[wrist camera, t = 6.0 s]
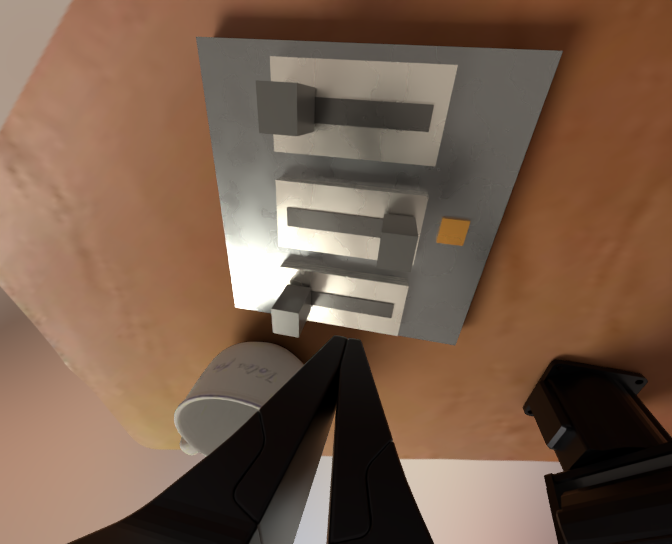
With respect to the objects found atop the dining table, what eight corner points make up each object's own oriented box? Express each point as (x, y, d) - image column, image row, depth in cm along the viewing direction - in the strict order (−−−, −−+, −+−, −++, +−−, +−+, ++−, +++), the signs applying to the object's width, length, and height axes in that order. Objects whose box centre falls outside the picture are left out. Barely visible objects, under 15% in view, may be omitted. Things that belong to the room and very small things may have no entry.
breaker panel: (548, 56, 14) (575, 46, 12) (452, 332, 23) (457, 355, 21) (211, 42, 17) (182, 31, 14) (243, 297, 26) (229, 315, 23)
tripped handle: (415, 217, 17) (418, 236, 14) (409, 248, 18) (410, 272, 15) (384, 213, 17) (381, 232, 14) (379, 244, 18) (376, 267, 15)
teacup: (294, 314, 26) (255, 389, 19) (342, 395, 30) (324, 481, 23) (183, 342, 30) (120, 410, 24) (237, 409, 35) (197, 482, 28)
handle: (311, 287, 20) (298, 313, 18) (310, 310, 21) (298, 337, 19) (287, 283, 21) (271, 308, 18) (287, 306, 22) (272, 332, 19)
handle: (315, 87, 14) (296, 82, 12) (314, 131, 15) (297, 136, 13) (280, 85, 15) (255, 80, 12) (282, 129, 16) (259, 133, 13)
